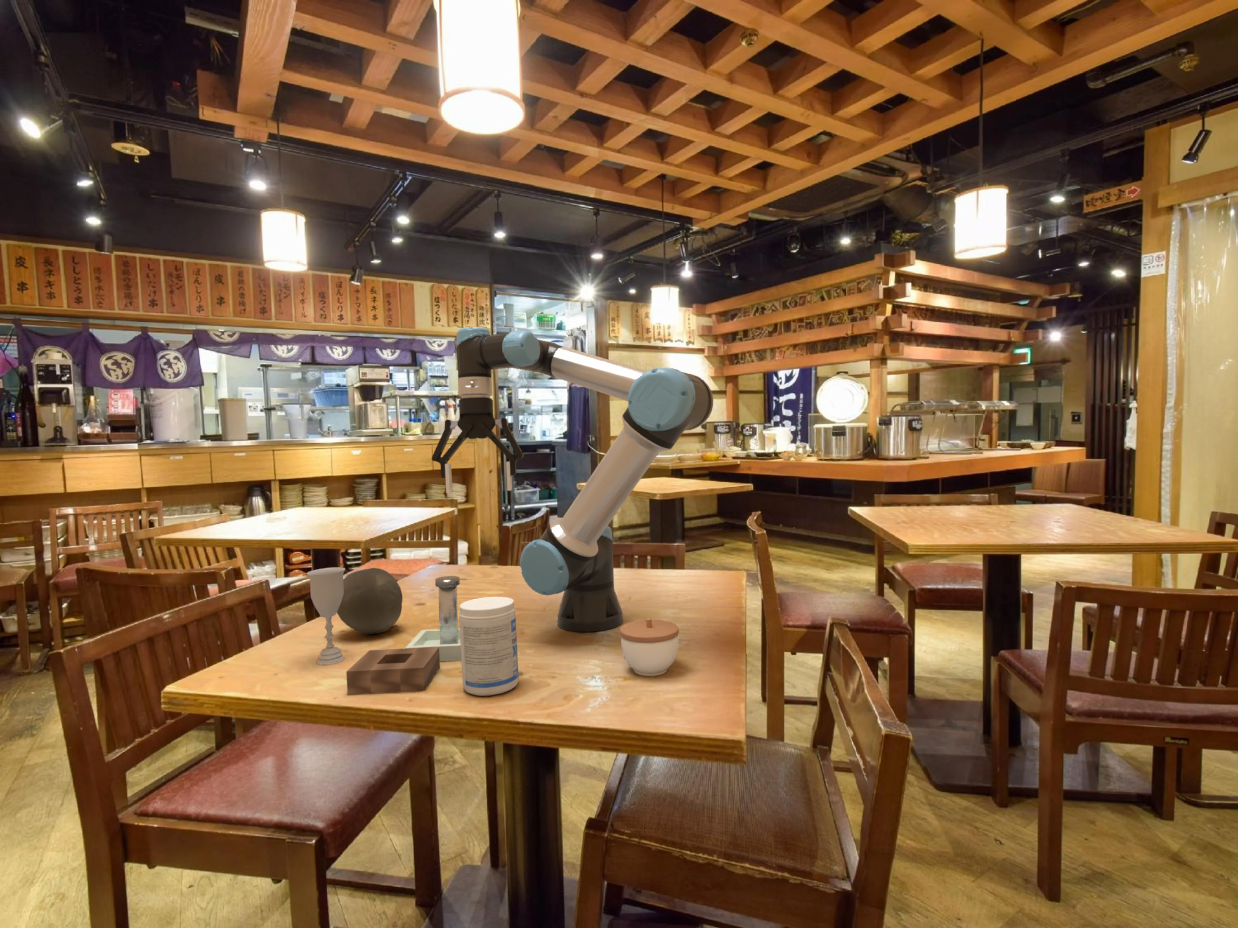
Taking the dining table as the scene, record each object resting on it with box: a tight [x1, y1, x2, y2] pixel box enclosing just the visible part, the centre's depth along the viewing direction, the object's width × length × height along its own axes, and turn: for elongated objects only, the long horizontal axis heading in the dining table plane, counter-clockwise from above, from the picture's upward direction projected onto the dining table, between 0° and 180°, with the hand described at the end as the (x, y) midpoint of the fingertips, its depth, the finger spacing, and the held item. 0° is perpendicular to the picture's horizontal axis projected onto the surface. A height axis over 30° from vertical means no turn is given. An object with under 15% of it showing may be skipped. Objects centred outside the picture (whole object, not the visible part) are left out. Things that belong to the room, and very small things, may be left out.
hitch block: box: [345, 647, 441, 696], centre depth 111 cm, size 13×11×4 cm
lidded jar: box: [619, 617, 680, 677], centre depth 112 cm, size 11×11×9 cm
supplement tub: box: [458, 596, 519, 697], centre depth 106 cm, size 10×10×15 cm
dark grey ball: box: [336, 567, 403, 635], centre depth 140 cm, size 14×14×15 cm
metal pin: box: [434, 575, 461, 645], centre depth 126 cm, size 5×5×14 cm
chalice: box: [306, 566, 346, 666], centre depth 123 cm, size 7×7×18 cm
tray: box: [404, 627, 462, 663], centre depth 126 cm, size 14×12×3 cm
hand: (479, 491), depth 140 cm, fingers open, 13 cm apart
